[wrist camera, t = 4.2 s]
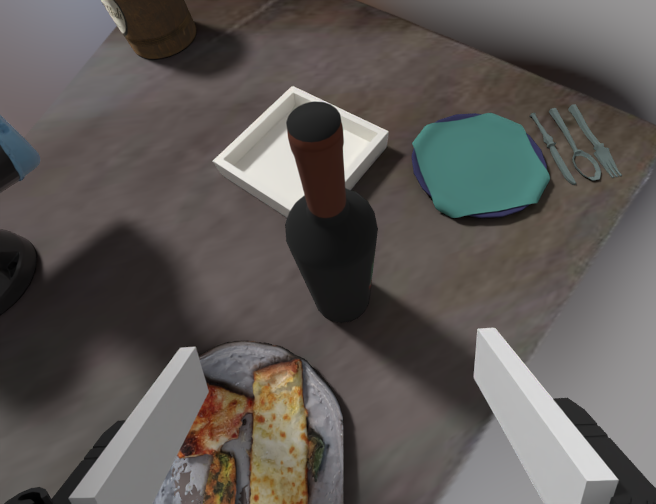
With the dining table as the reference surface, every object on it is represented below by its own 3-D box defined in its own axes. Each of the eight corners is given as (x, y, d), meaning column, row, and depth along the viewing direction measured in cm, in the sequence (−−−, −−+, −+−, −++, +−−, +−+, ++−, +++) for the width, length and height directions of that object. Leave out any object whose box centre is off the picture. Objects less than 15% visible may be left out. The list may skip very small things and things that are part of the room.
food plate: (170, 341, 42) (154, 338, 39) (343, 343, 40) (343, 339, 37) (119, 591, 32) (93, 614, 29) (344, 607, 31) (343, 634, 27)
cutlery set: (396, 133, 54) (397, 122, 52) (567, 103, 54) (576, 91, 52) (430, 234, 46) (434, 227, 44) (631, 198, 46) (645, 189, 44)
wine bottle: (303, 288, 44) (214, 113, 16) (348, 259, 45) (334, 50, 18) (334, 334, 41) (286, 213, 13) (381, 301, 42) (424, 130, 15)
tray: (313, 234, 47) (309, 223, 44) (221, 174, 53) (212, 160, 50) (386, 147, 53) (388, 131, 49) (295, 102, 59) (292, 86, 56)
